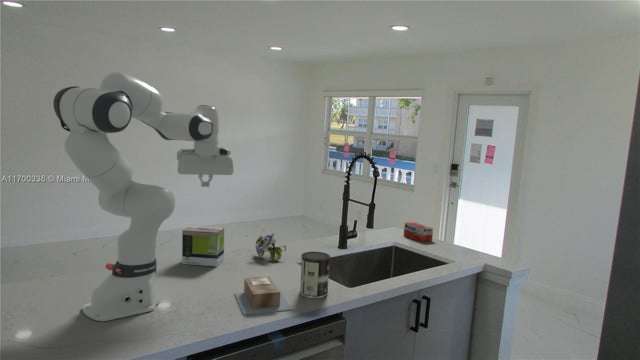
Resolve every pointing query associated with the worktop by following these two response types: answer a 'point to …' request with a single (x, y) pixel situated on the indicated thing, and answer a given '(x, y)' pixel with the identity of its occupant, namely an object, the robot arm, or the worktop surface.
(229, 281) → the worktop surface
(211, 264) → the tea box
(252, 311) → the mat
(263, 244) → the passion flower
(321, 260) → the coffee can
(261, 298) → the cardboard box
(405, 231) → the medicine box
